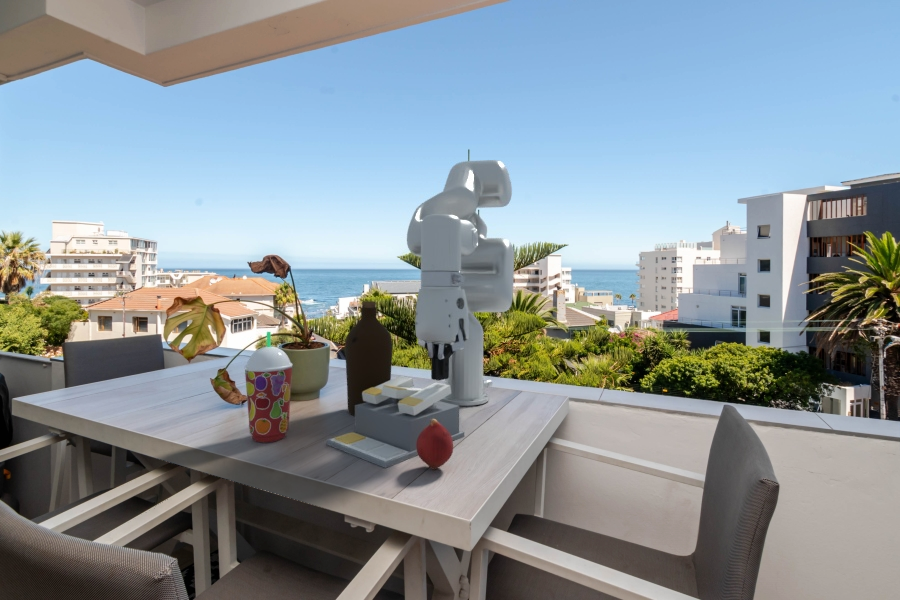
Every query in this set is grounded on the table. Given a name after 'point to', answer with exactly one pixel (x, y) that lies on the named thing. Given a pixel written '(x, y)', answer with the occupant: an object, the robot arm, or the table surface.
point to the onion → (434, 445)
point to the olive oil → (367, 355)
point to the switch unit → (392, 431)
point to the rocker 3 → (424, 398)
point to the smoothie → (268, 392)
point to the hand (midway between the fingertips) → (440, 378)
